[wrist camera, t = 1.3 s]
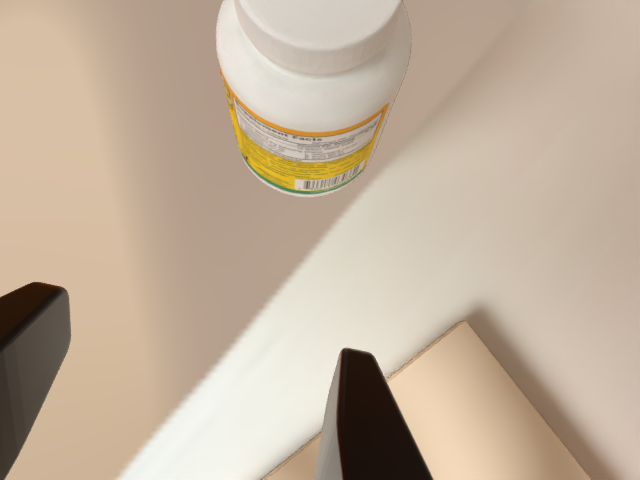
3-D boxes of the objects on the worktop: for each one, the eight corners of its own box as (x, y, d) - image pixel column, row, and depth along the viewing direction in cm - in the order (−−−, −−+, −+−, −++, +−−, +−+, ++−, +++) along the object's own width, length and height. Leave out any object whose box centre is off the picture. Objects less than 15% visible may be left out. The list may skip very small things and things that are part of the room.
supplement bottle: (332, 226, 22) (363, 124, 13) (207, 154, 23) (150, 3, 13) (402, 109, 23) (477, -63, 14) (282, 42, 24) (278, -170, 14)
